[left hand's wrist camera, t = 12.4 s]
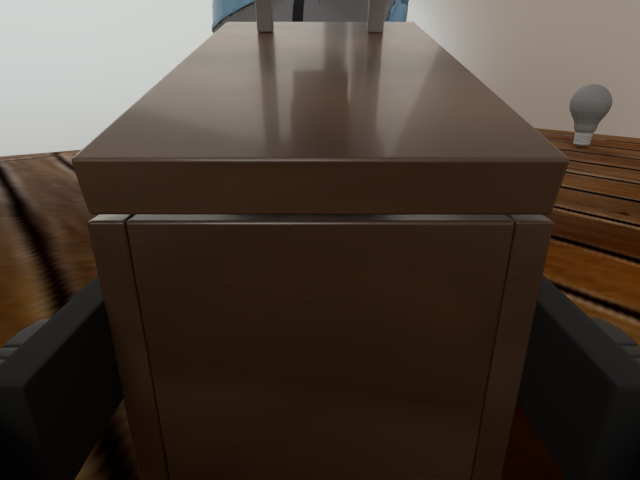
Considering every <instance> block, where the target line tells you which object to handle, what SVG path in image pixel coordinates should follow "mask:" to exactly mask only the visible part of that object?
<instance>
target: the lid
mask: <svg viewBox="0 0 640 480" xmlns="http://www.w3.org/2000/svg"><path fill="white" fill-rule="evenodd" d="M385 1H386V0H368V13H367V22H273V6H272V0H255V7H256V21H257V22H226V23H225V24H224V25H223V26H222V27H220V28H219V29H218V30H217V31H216V32H215V33H214V34H213V35H211V36H210V37H209V38H208V39H207V40H206V41H205V42H204V43H202V44H201V45H200V46H199V47H198V48H197V49H196V50H194V51H193V52H192V53H191V54H190V55H189V56H188V57H186V58H185V59H184V60H183V61H182V62H181V63H180V64H179V65H177V66H176V67H175V68H174V69H173V70H172V71H171V72H169V73H168V74H167V75H166V76H165V77H164V78H163V79H162V80H160V81H159V82H158V83H157V84H156V85H155V86H154V87H152V88H151V89H150V90H149V91H148V92H147V93H146V94H145V95H143V96H142V97H141V98H140V99H139V100H138V101H137V102H135V103H134V104H133V105H132V106H131V107H130V108H129V109H128V110H126V111H125V112H124V113H123V114H122V115H121V116H120V117H118V118H117V119H116V120H115V121H114V122H113V123H112V124H111V125H109V126H108V127H107V128H106V129H105V130H104V131H103V132H101V133H100V134H99V135H98V136H97V137H96V138H95V139H94V140H92V141H91V142H90V143H89V144H88V145H87V146H86V147H85V148H83V149H82V150H81V151H80V152H79V153H78V154H77V155H75V156H74V157H73V158H72V164H73V167H74V170H75V173H76V176H77V178H78V181H79V184H80V187H81V190H82V193H83V196H84V199H85V201H86V204H87V207H88V210H89V212H90V213H91V214H156V215H548V214H550V213H551V212H552V209H553V207H554V204H555V201H556V198H557V195H558V192H559V190H560V187H561V184H562V181H563V178H564V175H565V173H566V170H567V167H568V164H569V158H568V157H566V156H565V155H564V154H563V153H562V152H561V151H560V150H558V149H557V148H556V147H555V146H554V145H553V144H552V143H550V142H549V141H548V140H547V139H546V138H545V137H544V136H543V135H541V134H540V133H539V132H538V131H537V130H536V129H535V128H533V127H532V126H531V125H530V124H529V123H528V122H527V121H525V120H524V119H523V118H522V117H521V116H520V115H519V114H517V113H516V112H515V111H514V110H513V109H512V108H511V107H510V106H508V105H507V104H506V103H505V102H504V101H503V100H502V99H500V98H499V97H498V96H497V95H496V94H495V93H494V92H493V91H491V90H490V89H489V88H488V87H487V86H486V85H485V84H483V83H482V82H481V81H480V80H479V79H478V78H477V77H475V76H474V75H473V74H472V73H471V72H470V71H469V70H468V69H466V68H465V67H464V66H463V65H462V64H461V63H460V62H458V61H457V60H456V59H455V58H454V57H453V56H452V55H450V54H449V53H448V52H447V51H446V50H445V49H444V48H443V47H441V46H440V45H439V44H438V43H437V42H436V41H435V40H433V39H432V38H431V37H430V36H429V35H428V34H427V33H425V32H424V31H423V30H422V29H421V28H420V27H419V26H418V25H416V24H415V23H414V22H384V14H385Z"/></svg>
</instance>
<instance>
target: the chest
mask: <svg viewBox="0 0 640 480" xmlns="http://www.w3.org/2000/svg"><path fill="white" fill-rule="evenodd" d="M88 227H89V232H90V237H91V242H92V247H93V251H94V256H95V261H96V266H97V271H98V276H99V281H100V286H101V291H102V296H103V300H104V305H105V310H106V315H107V320H108V325H109V330H110V335H111V340H112V345H113V349H114V354H115V359H116V364H117V369H118V374H119V379H120V384H121V389H122V393H123V398H124V403H125V408H126V413H127V418H128V423H129V428H130V433H131V438H132V442H133V447H134V452H135V457H136V462H137V467H138V472H139V477H140V480H501V475H502V471H503V466H504V461H505V456H506V451H507V446H508V441H509V437H510V432H511V427H512V422H513V417H514V412H515V408H516V403H517V397H518V392H519V387H520V382H521V377H522V372H523V368H524V363H525V358H526V353H527V348H528V343H529V338H530V333H531V329H532V324H533V319H534V314H535V309H536V304H537V301H538V296H539V291H540V286H541V281H542V277H543V272H544V267H545V262H546V257H547V252H548V247H549V243H550V238H551V233H552V228H553V221H551V220H550V219H548V218H546V217H545V216H543V215H156V214H99V215H98V216H96V217H95V218H93V219H92V220H90V221H89V222H88Z"/></svg>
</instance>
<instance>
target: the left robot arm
mask: <svg viewBox="0 0 640 480" xmlns="http://www.w3.org/2000/svg"><path fill="white" fill-rule="evenodd" d="M122 399H123V393H122V389H121V384H120V379H119V374H118V369H117V364H116V359H115V354H114V349H113V345H112V340H111V335H110V330H109V325H108V320H107V315H106V310H105V305H104V300H103V296H102V291H101V286H100V281H99V276H98V275H97V276H96V277H95V278H94V279H93V280H92V281H90V282H89V283H88V284H87V285H86V286H85V287H84V288H83V289H82V290H81V291H80V292H78V293H77V294H76V295H75V296H74V297H73V298H72V299H71V300H70V301H69V302H68V303H67V304H65V305H64V306H63V307H62V308H61V309H60V310H59V311H58V312H57V313H56V314H55V315H54V316H52V317H51V318H50V319H41V320H40V321H38V322H36V323H34V324H32V325H30V326H28V327H26V328H25V329H23V330H21V331H19V332H18V333H17V334H16V335H15V336H14V337H12V338H11V339H10V340H9V341H8V342H7V343H6V344H4V347H3V348H0V480H74V479H75V478H76V476H77V474H78V473H79V471H80V469H81V468H82V466H83V464H84V463H85V461H86V459H87V458H88V456H89V454H90V453H91V451H92V449H93V448H94V446H95V444H96V443H97V441H98V439H99V438H100V436H101V434H102V433H103V431H104V429H105V428H106V426H107V424H108V423H109V421H110V419H111V418H112V416H113V414H114V413H115V411H116V409H117V408H118V406H119V404H120V403H121V401H122ZM517 399H518V400H519V402H520V404H521V405H522V407H523V409H524V410H525V412H526V414H527V415H528V417H529V419H530V420H531V422H532V424H533V425H534V427H535V429H536V430H537V432H538V434H539V435H540V437H541V439H542V440H543V442H544V444H545V445H546V447H547V449H548V450H549V452H550V454H551V455H552V457H553V459H554V460H555V462H556V464H557V465H558V467H559V469H560V470H561V472H562V474H563V475H564V477H565V479H566V480H640V346H637V343H636V342H635V341H634V340H633V339H632V338H630V337H629V336H628V335H627V334H626V333H625V332H623V331H622V330H621V329H619V328H617V327H615V326H614V325H612V324H610V323H608V322H606V321H604V320H602V319H600V318H589V317H588V316H587V315H586V314H585V313H584V312H583V311H582V310H580V309H579V308H578V307H577V306H576V305H575V304H574V303H573V302H572V301H571V300H570V299H569V298H567V297H566V296H565V295H564V294H563V293H562V292H561V291H560V290H559V289H558V288H557V287H556V286H554V285H553V284H552V283H551V282H550V281H549V280H548V279H547V278H546V277H545V276H544V275H543V277H542V281H541V286H540V291H539V296H538V301H537V304H536V309H535V314H534V319H533V324H532V329H531V333H530V338H529V343H528V348H527V353H526V358H525V363H524V368H523V372H522V377H521V382H520V387H519V392H518V397H517Z"/></svg>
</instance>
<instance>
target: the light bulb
mask: <svg viewBox="0 0 640 480" xmlns="http://www.w3.org/2000/svg"><path fill="white" fill-rule="evenodd" d="M611 105H612V97H611V94H610V92H609V91H608V90H607V89H606V88H605V87H603V86H600V85H588V86H585V87H583V88H581V89H579V90H578V91H577V92H576V93H575V94H574V95H573V97H572V99H571V101H570V112H571V115H572V117H573V120H574V130H575V135H576V136H574V137H575V138H574V140H575V141H573V143H574V144H575V145H577V146H579V147H585V146H588V145H590V144H591V143H590V142H591V141H590V140H591V137H592V136H593V132H594V131H595V130H596V128H597V125H598V124H599V122H600V121H601V120H602V118H603V117H604V116H605V115H606V114H607V113H608V112H609V110H610V108H611Z"/></svg>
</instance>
